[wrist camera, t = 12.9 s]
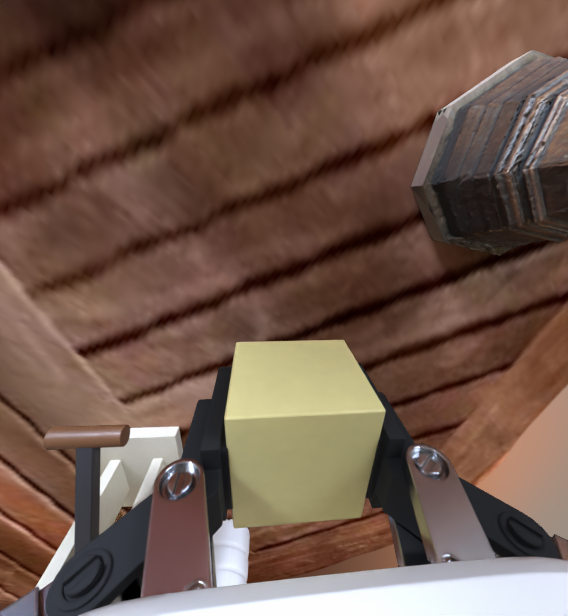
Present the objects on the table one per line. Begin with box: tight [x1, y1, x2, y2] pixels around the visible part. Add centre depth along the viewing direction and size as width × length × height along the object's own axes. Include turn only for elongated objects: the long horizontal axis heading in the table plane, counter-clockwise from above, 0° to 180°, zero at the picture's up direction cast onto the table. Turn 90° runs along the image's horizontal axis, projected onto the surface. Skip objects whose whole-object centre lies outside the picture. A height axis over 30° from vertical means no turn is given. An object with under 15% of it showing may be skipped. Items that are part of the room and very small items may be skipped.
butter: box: [224, 340, 386, 529], centre depth 10 cm, size 5×4×4 cm
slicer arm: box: [43, 425, 130, 555], centre depth 18 cm, size 13×5×2 cm, turn 178°
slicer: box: [35, 426, 183, 590], centre depth 22 cm, size 10×8×12 cm
